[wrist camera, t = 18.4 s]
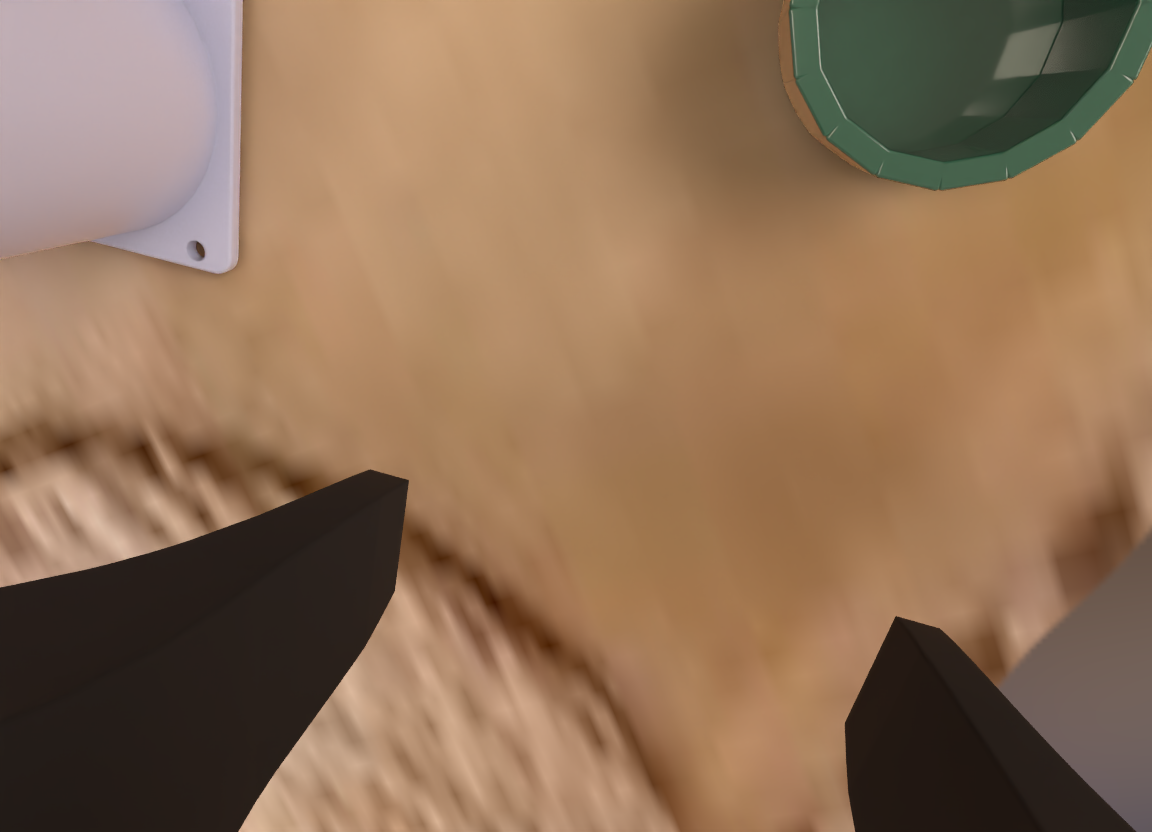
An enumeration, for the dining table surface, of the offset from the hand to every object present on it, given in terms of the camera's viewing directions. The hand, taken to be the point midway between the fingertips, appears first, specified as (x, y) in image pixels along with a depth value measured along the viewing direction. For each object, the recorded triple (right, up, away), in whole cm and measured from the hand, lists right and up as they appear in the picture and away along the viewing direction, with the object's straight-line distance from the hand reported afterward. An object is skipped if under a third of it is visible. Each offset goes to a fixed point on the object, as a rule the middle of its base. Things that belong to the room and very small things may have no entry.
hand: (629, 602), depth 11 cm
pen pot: (+6, +11, +5) cm, 13 cm away
